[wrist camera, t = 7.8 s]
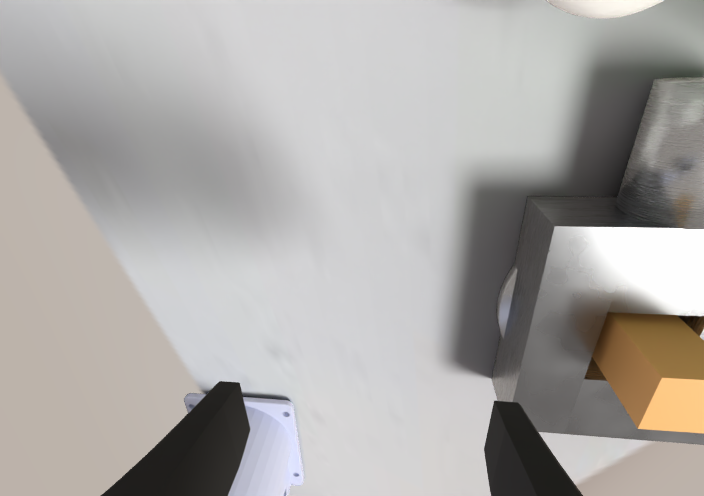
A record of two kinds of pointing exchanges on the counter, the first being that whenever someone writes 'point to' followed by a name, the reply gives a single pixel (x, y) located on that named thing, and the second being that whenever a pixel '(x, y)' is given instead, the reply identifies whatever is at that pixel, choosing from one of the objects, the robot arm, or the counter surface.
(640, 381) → the orange rectangular block
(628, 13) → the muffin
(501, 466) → the robot arm
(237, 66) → the counter surface
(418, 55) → the counter surface
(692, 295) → the grey slotted block
